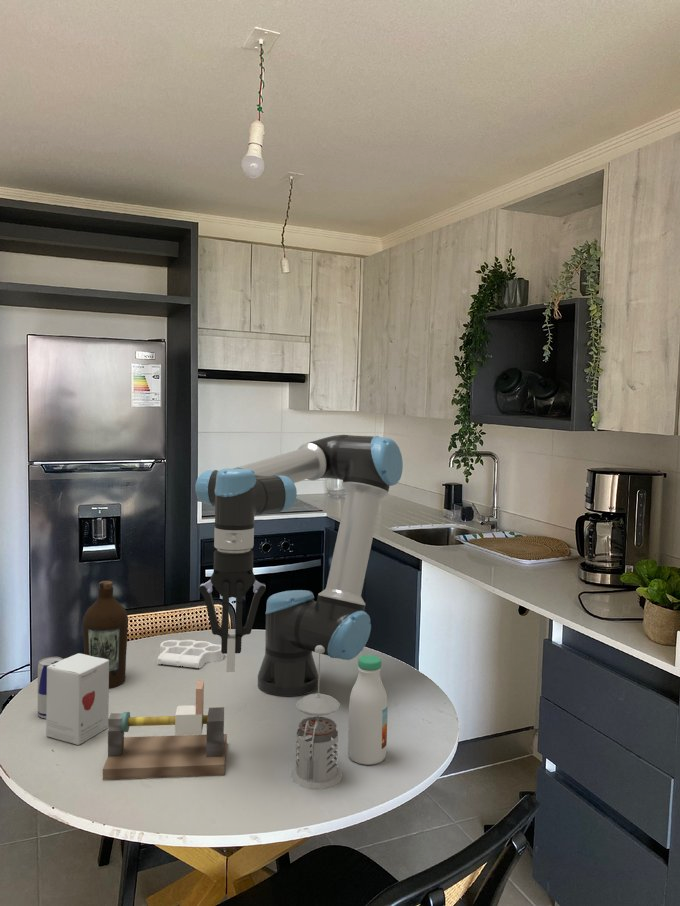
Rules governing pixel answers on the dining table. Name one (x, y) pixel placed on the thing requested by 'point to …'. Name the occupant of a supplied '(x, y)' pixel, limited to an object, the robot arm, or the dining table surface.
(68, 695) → the supplement box
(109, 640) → the olive oil
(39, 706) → the energy drink
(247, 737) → the dining table surface
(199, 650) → the white brass knuckles
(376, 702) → the milk bottle
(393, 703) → the dining table surface
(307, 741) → the french press
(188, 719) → the cube with tan panel
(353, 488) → the robot arm
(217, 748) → the axle on two posts
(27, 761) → the dining table surface
